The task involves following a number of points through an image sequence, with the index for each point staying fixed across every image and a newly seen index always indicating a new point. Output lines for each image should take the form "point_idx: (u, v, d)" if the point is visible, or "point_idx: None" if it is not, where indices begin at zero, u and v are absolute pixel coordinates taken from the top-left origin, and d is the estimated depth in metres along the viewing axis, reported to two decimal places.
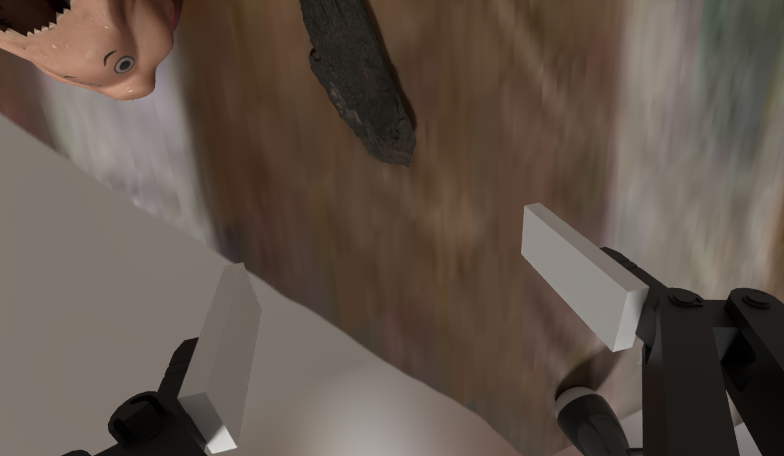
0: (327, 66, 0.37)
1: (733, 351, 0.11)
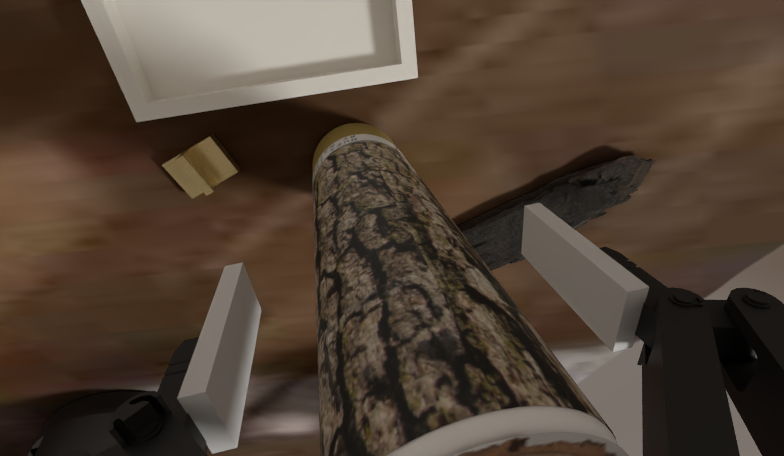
0: None
1: (733, 351, 0.11)
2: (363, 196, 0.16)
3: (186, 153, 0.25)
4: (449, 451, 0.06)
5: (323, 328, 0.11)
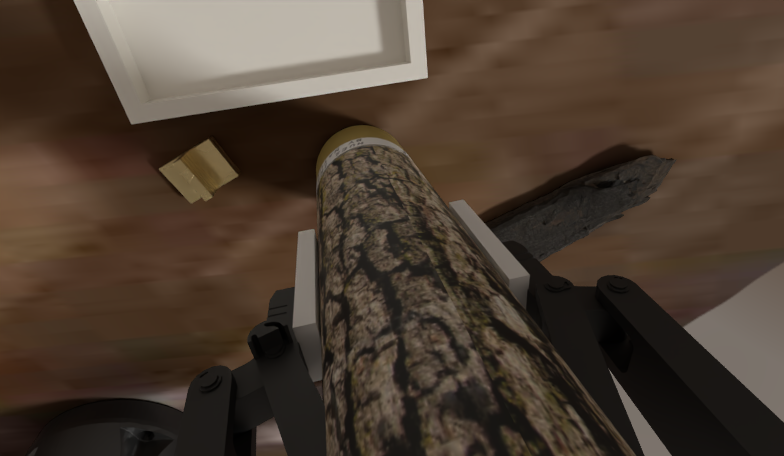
0: (540, 258, 0.34)
1: (600, 332, 0.12)
2: (372, 208, 0.14)
3: (184, 157, 0.24)
4: None
5: (329, 361, 0.10)
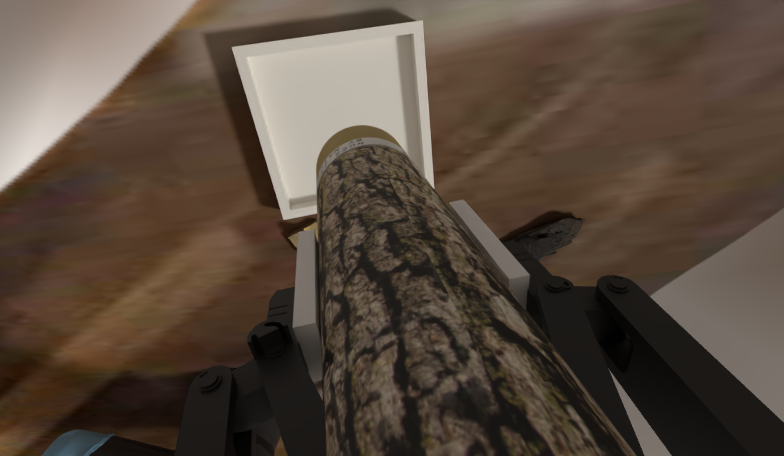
0: None
1: (600, 332, 0.12)
2: (372, 208, 0.14)
3: None
4: None
5: (329, 361, 0.10)
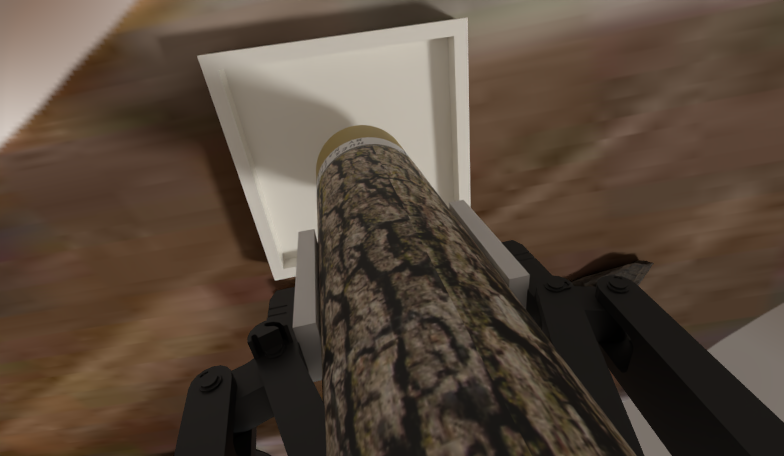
0: None
1: (600, 332, 0.12)
2: (372, 208, 0.14)
3: None
4: None
5: (329, 361, 0.10)
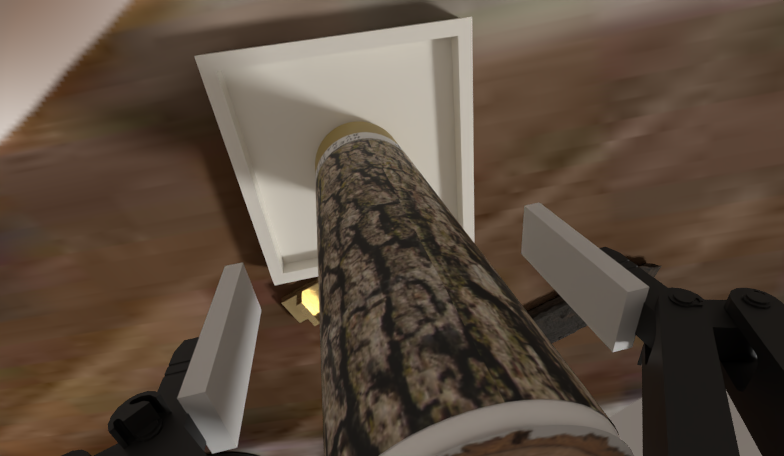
0: (558, 339, 0.44)
1: (733, 351, 0.11)
2: (366, 193, 0.16)
3: (302, 298, 0.34)
4: (453, 443, 0.06)
5: (326, 323, 0.11)
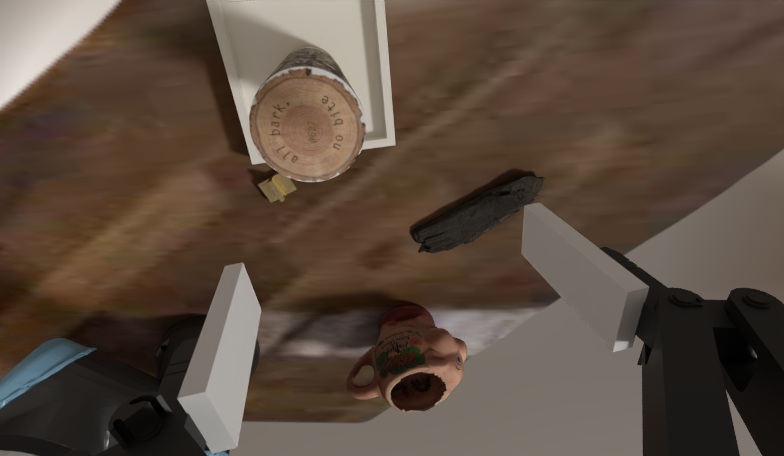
0: (472, 237, 0.58)
1: (733, 351, 0.11)
2: (294, 55, 0.30)
3: (272, 179, 0.48)
4: (286, 71, 0.20)
5: None
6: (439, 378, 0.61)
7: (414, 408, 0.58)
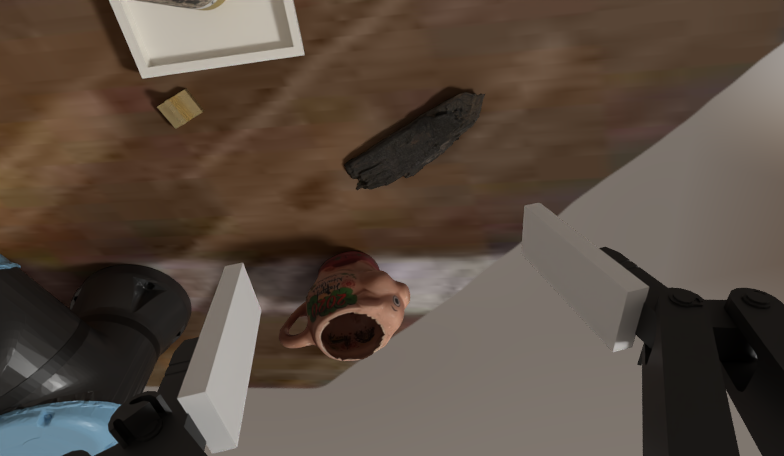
0: (412, 168, 0.54)
1: (733, 351, 0.11)
2: None
3: (170, 98, 0.43)
4: None
5: None
6: (383, 327, 0.56)
7: (353, 357, 0.53)
